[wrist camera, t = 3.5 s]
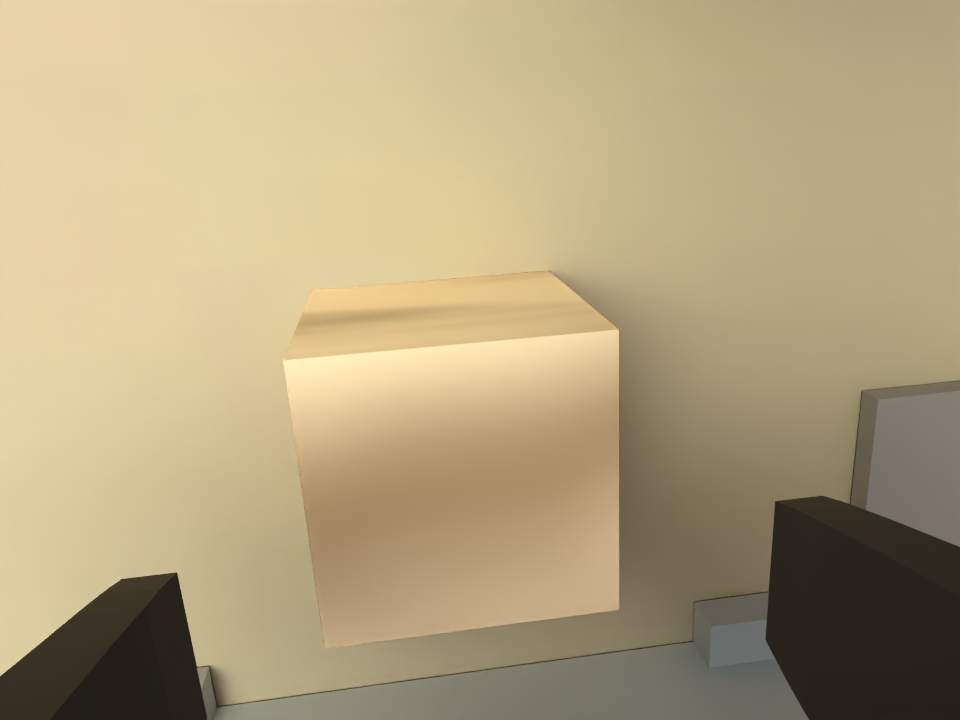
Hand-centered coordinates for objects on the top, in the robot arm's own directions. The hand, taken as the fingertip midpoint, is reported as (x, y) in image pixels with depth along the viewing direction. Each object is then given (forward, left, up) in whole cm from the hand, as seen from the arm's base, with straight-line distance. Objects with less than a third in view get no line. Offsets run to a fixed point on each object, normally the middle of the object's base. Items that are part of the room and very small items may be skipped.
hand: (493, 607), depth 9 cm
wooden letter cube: (0, 0, -8) cm, 8 cm away
